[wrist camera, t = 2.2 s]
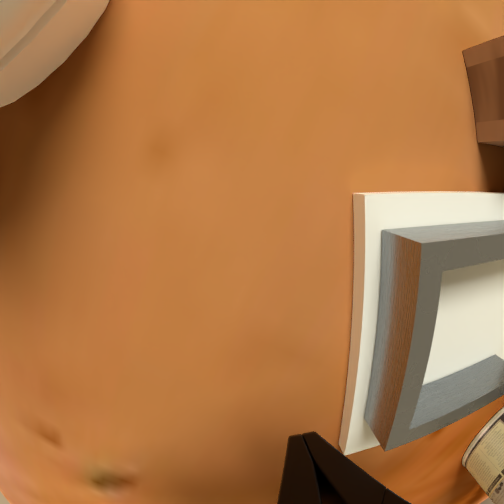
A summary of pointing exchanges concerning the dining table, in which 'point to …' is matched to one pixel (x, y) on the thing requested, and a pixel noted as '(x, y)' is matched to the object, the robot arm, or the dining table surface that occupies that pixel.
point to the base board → (450, 302)
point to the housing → (425, 332)
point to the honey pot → (40, 39)
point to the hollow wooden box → (487, 89)
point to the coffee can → (488, 458)
